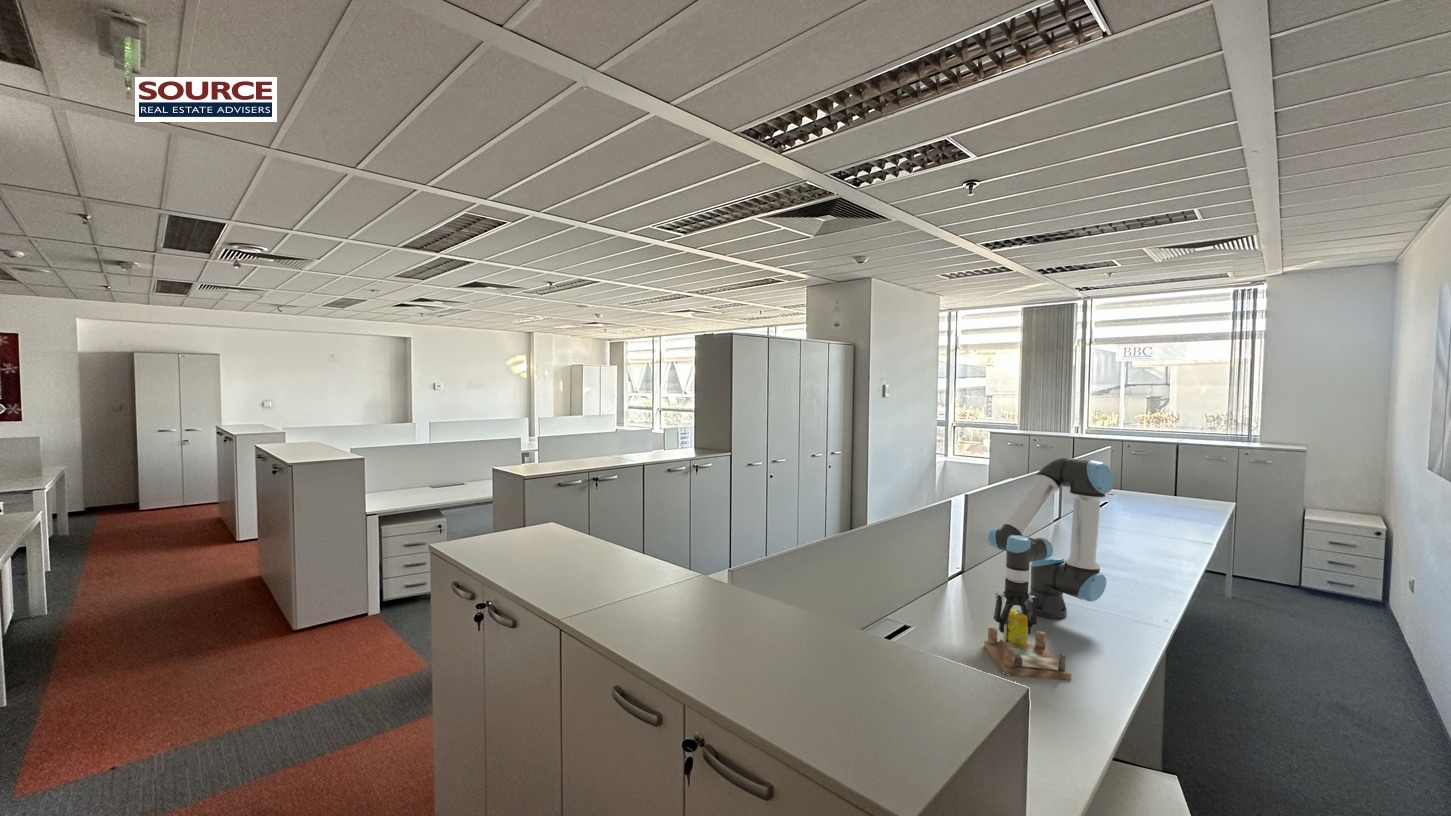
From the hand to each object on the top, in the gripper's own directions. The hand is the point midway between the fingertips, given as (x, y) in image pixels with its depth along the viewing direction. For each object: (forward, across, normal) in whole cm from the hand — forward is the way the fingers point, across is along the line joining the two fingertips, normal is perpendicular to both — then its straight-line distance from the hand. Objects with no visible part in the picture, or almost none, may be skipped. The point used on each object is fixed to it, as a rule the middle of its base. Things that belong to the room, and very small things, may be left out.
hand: (1014, 641), depth 205 cm
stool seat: (0, +2, +15) cm, 15 cm away
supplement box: (0, 0, 0) cm, 1 cm away
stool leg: (-2, +2, +22) cm, 22 cm away
